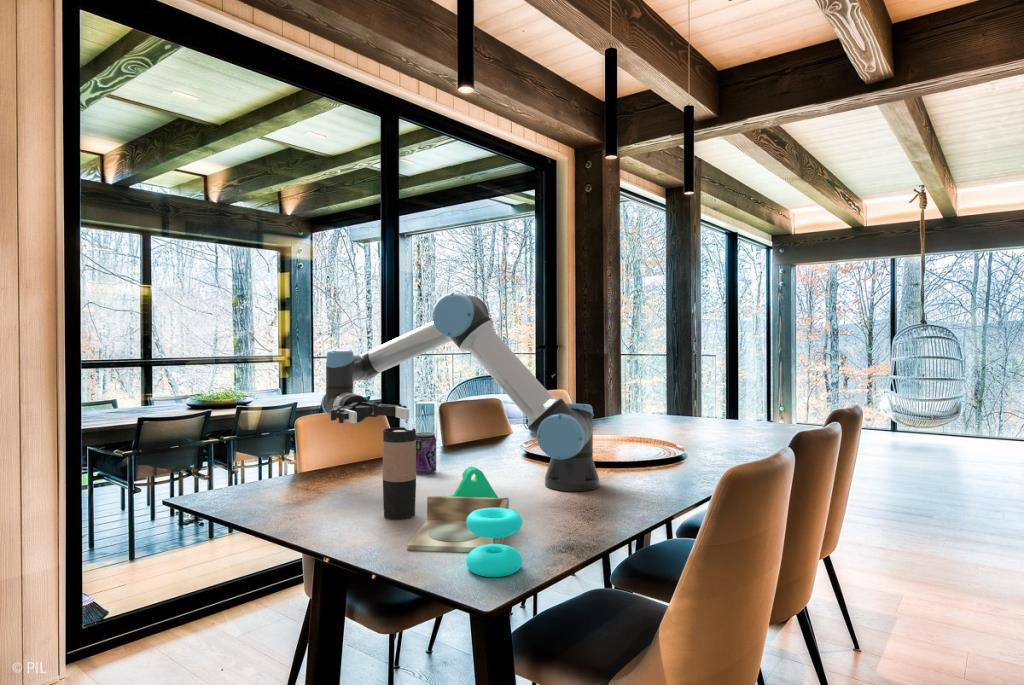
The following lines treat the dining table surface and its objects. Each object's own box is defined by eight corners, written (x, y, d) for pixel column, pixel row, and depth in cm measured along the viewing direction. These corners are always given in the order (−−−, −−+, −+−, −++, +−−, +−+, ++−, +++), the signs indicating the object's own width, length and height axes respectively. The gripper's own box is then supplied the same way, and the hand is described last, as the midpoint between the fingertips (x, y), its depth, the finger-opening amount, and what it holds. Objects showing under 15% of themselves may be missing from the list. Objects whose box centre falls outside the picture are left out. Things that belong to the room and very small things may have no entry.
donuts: (458, 518, 107) (476, 504, 116) (458, 576, 107) (476, 557, 116) (514, 523, 104) (528, 507, 114) (514, 582, 104) (527, 562, 114)
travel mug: (384, 521, 139) (384, 432, 139) (381, 512, 146) (381, 427, 146) (418, 518, 141) (418, 431, 141) (413, 509, 148) (414, 426, 148)
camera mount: (487, 501, 156) (487, 461, 156) (498, 509, 149) (498, 467, 149) (441, 506, 152) (442, 465, 152) (451, 515, 145) (451, 471, 145)
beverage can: (420, 476, 185) (420, 436, 185) (408, 472, 190) (408, 433, 190) (440, 473, 189) (440, 434, 189) (428, 469, 195) (428, 431, 195)
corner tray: (508, 525, 136) (508, 498, 136) (499, 553, 118) (499, 522, 118) (428, 522, 138) (428, 495, 138) (407, 550, 120) (407, 519, 120)
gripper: (393, 418, 176) (427, 427, 159) (305, 424, 162) (331, 435, 144) (394, 392, 176) (428, 398, 159) (305, 395, 162) (332, 403, 144)
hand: (382, 416), depth 151 cm, fingers open, 13 cm apart
